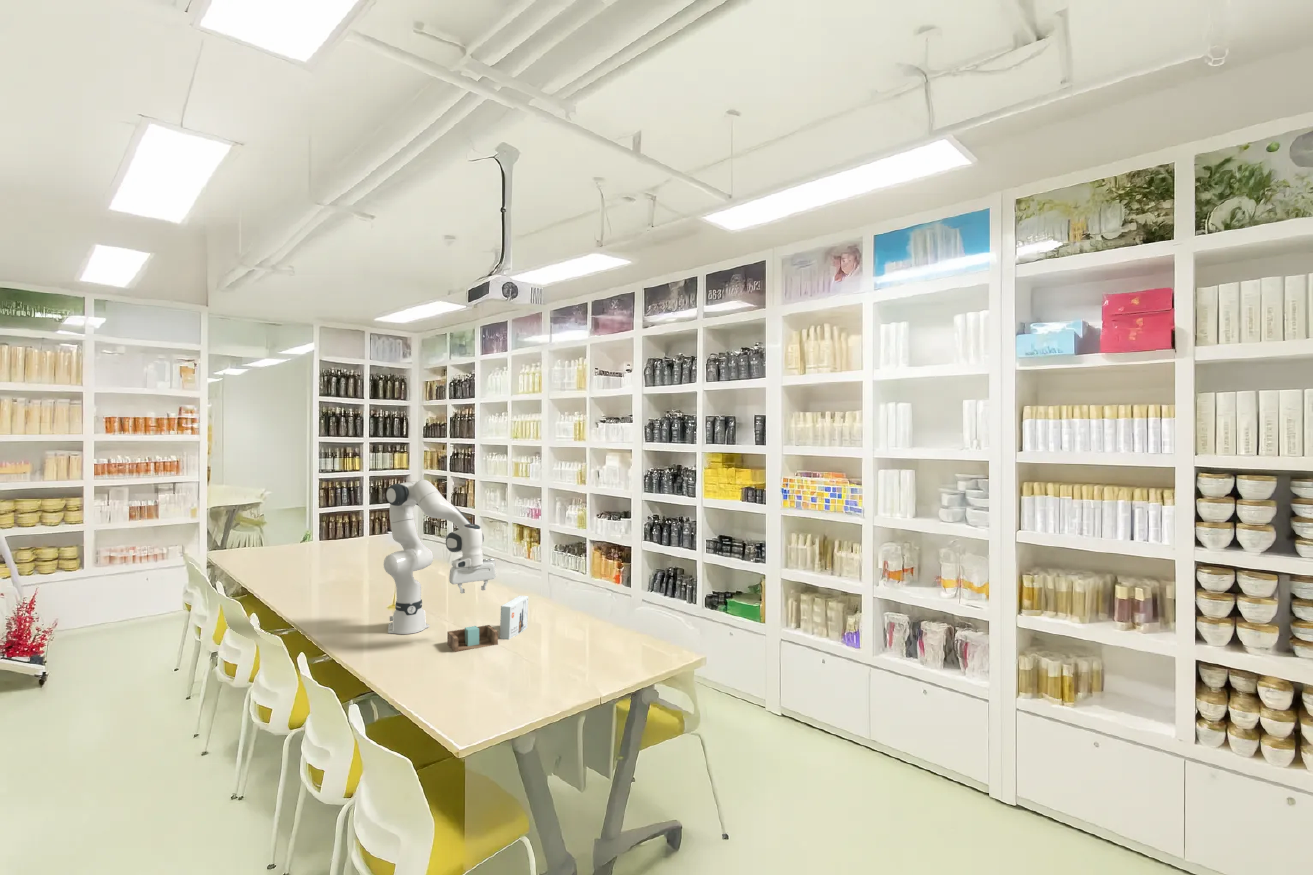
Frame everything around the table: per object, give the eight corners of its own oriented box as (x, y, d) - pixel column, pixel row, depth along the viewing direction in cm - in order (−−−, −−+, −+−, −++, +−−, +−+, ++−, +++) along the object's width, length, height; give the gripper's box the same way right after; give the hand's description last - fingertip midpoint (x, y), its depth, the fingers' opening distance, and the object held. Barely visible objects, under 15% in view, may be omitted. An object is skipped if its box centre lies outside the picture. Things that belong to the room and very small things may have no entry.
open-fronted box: (447, 646, 281) (447, 631, 281) (489, 638, 291) (489, 624, 291) (454, 653, 271) (454, 638, 271) (497, 646, 281) (497, 631, 281)
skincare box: (510, 641, 288) (510, 606, 288) (499, 640, 289) (499, 606, 289) (528, 627, 308) (528, 595, 308) (518, 627, 309) (518, 594, 310)
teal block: (464, 643, 282) (464, 627, 282) (475, 641, 285) (475, 625, 285) (468, 646, 278) (468, 630, 278) (479, 644, 281) (479, 628, 281)
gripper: (492, 557, 290) (493, 586, 290) (447, 562, 279) (448, 593, 279) (497, 559, 285) (497, 589, 285) (452, 564, 274) (452, 596, 274)
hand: (473, 591), depth 282 cm, fingers open, 8 cm apart
